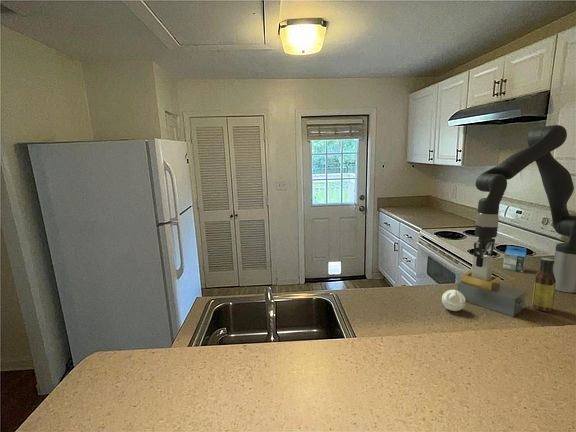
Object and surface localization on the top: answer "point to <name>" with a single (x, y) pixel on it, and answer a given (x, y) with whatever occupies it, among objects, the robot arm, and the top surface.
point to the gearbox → (492, 294)
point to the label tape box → (514, 259)
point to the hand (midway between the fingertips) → (482, 264)
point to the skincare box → (483, 268)
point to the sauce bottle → (544, 286)
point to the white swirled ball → (453, 300)
